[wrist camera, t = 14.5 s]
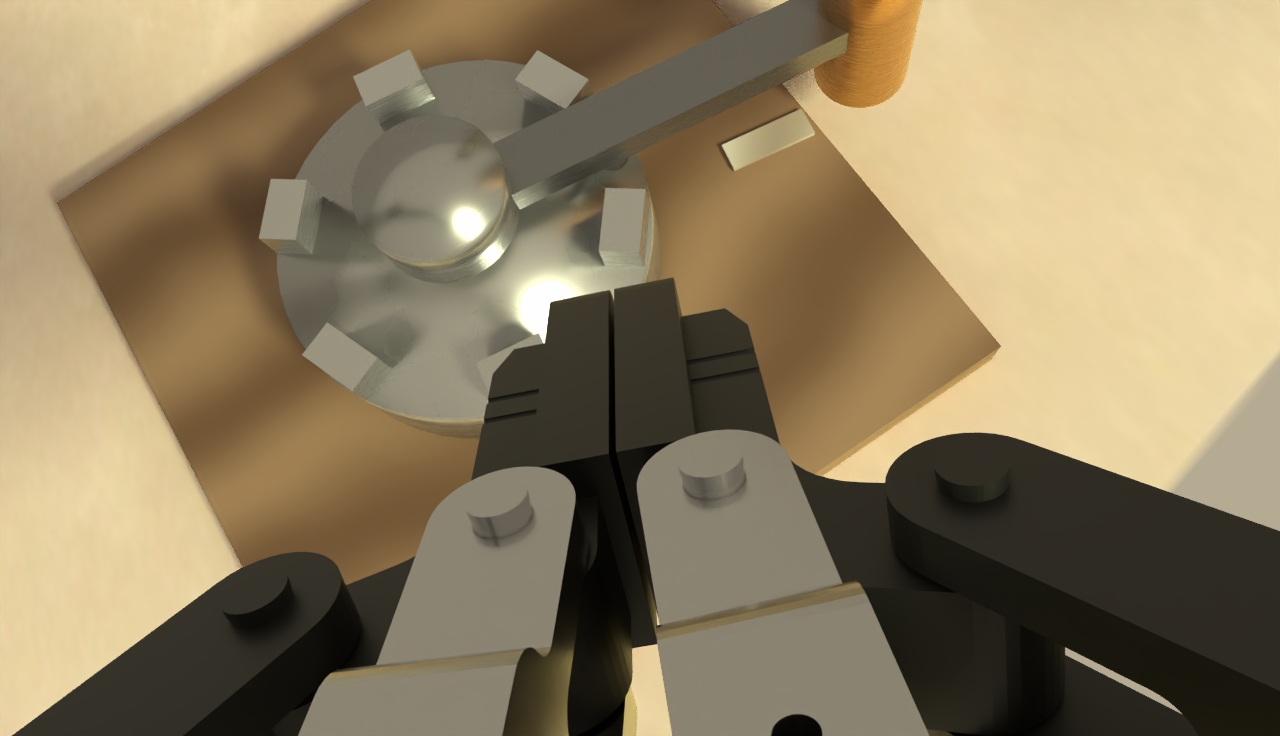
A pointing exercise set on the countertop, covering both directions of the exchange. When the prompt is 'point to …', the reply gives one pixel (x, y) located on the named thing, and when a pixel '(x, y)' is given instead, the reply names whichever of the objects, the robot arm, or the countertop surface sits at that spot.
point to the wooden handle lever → (517, 196)
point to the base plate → (691, 253)
